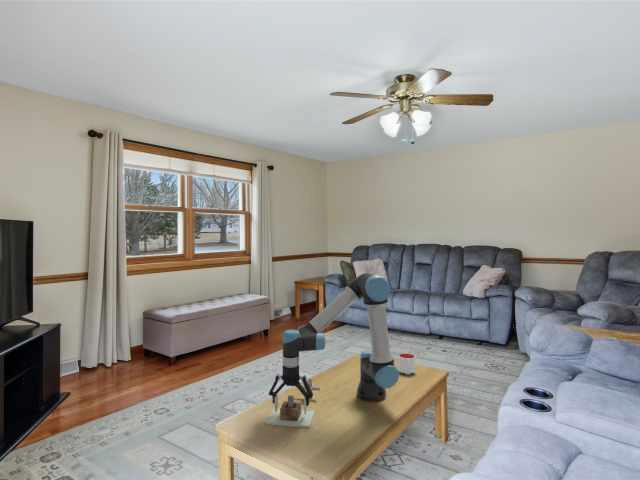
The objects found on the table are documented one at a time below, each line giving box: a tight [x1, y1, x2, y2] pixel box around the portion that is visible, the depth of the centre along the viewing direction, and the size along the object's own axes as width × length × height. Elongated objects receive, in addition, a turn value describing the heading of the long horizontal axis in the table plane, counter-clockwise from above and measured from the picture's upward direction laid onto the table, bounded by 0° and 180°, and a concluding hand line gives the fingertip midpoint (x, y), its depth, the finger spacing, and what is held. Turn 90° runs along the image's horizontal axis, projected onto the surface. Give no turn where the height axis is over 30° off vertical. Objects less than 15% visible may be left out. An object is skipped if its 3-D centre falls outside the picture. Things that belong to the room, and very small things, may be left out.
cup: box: [397, 352, 416, 375], centre depth 232 cm, size 10×10×10 cm
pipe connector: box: [302, 377, 321, 400], centre depth 195 cm, size 10×10×10 cm
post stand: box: [264, 394, 316, 429], centre depth 173 cm, size 20×14×10 cm
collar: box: [279, 400, 302, 421], centre depth 173 cm, size 8×8×5 cm
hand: (290, 411), depth 173 cm, fingers open, 13 cm apart
